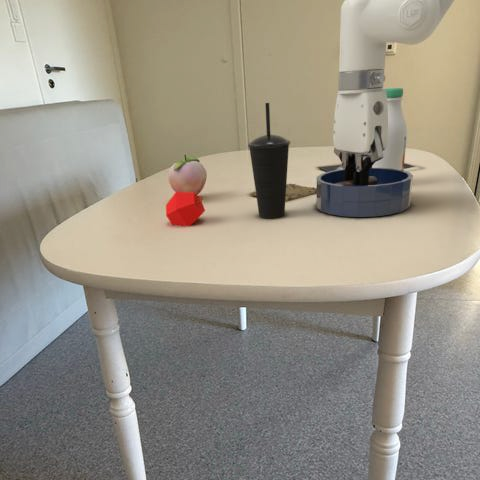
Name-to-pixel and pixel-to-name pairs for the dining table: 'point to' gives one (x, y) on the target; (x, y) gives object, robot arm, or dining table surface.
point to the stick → (372, 181)
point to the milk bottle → (394, 133)
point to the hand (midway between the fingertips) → (355, 190)
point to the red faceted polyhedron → (184, 208)
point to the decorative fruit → (187, 176)
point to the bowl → (365, 194)
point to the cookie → (296, 192)
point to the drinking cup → (270, 171)
